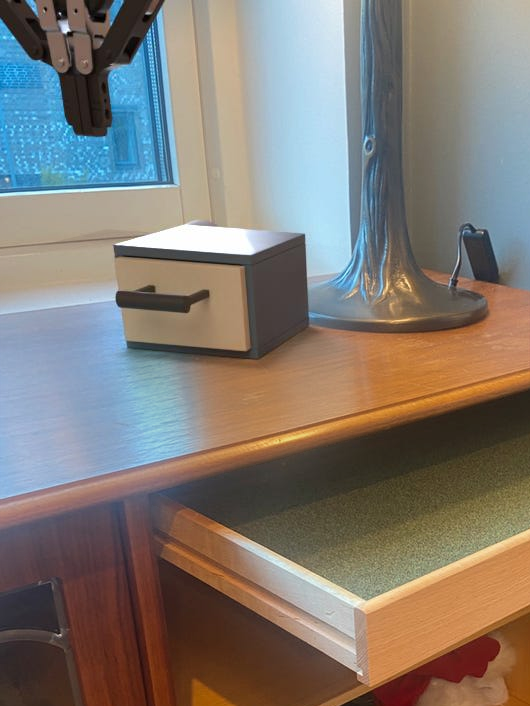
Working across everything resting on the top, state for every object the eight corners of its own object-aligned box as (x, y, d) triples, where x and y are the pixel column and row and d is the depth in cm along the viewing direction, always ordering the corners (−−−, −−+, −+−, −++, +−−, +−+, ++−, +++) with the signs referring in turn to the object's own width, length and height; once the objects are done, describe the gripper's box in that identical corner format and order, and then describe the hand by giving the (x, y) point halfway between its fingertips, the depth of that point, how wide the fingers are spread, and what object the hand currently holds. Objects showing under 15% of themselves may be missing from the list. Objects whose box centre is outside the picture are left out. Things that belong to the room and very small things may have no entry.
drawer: (221, 367, 81) (213, 279, 77) (93, 355, 82) (79, 268, 78) (295, 320, 97) (292, 246, 93) (188, 311, 98) (180, 238, 95)
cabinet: (258, 359, 87) (251, 255, 82) (127, 347, 88) (112, 244, 84) (309, 325, 99) (305, 233, 95) (193, 315, 101) (184, 224, 97)
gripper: (176, -163, 62) (201, 140, 70) (-14, -169, 63) (34, 128, 72) (119, -193, 55) (155, 144, 64) (-91, -199, 57) (-28, 131, 65)
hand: (90, 135), depth 68 cm, fingers closed
